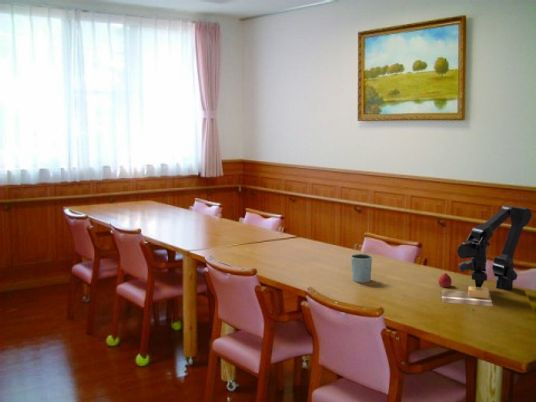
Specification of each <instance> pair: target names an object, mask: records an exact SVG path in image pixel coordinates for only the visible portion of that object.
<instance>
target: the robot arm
mask: <svg viewBox="0 0 536 402" xmlns="http://www.w3.org/2000/svg"><path fill="white" fill-rule="evenodd" d="M532 215H533V213H532V210H531V209H530V208H527V207H523V206H515V207H514V206H510V205H503V206H502V207H501V209H499V211H497V212H496V213H495V214H494V215H492V216H491V217H490V218H488V220H487V221H486V222H484V223H481V224H478V225H476V226H475V227H473V228H472V229H471V231H470V234H469V235H468V237H467V239H466V240H465V242H461V243H460V245H459V246H458V248H457V250H456V251H457V255H458V257H459V258H460V259H463V260H464V259H465V260H466V259H470V258H471V260H467V261H462V262H460V263H458V268H459V271H460V273H464V272H467V271H471V273H470V274H471V280H472V281H473V280H474V284H475V287H483V285H484V282H485V281H488V274H487V273H486V272H487V251H488V250H487V249H488V247H491V246H492V244H491V243H490V242H489V241H490V239H491V238H492V237H493V235H494V232H495V231H496V230H497V228H499V227H500V226H501V225H502V224H504V222H506V221H507V220H508V219H509V221H510V224H511V225H510V228H509V230H508V234H507V236H506V239H505V242H504V245H503V248H502V251H501V254H500V255H499V256H495V257H494V258H493V259H494V260H493V262H492V264H491V266H492V267H491V268H492V271H493V276H494V277H496V279H495V288H496V289H498V290H502V291H503V290H504V291H510V290H511V291H512V290H513V286H514V285H513V284H514V281H515V280H517V278H518V274H517V272H516V271H515V270H514V267H515V263H514V259H513V258H514V255H515V252H516V249H517V246H518V243H519V242H520V238H521V234H522V232H523V229H524V228H525V227H526V226H527V225H528V224H529V222H530V220H531V219H532V217H533V216H532Z"/></svg>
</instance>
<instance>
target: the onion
mask: <svg viewBox="0 0 536 402" xmlns="http://www.w3.org/2000/svg"><path fill="white" fill-rule="evenodd" d="M437 282H438V285H439V286H440V287H442V288H450V287H451V285H452V282H453V281H452V278H451V276H450V275H449V274H448V273H447V272H446V271H444V272H443V274H441V275H440V276H439V277H438V281H437Z"/></svg>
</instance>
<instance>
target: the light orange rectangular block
mask: <svg viewBox="0 0 536 402" xmlns="http://www.w3.org/2000/svg"><path fill="white" fill-rule="evenodd" d="M467 292H468V294H469V297H478V298H489V294H490V290H489V288H488V287H486V286H485V287H483V286H481V287H476V286H471V285H469V286H468V291H467Z"/></svg>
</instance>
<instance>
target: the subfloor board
mask: <svg viewBox="0 0 536 402" xmlns="http://www.w3.org/2000/svg"><path fill="white" fill-rule="evenodd" d="M441 291H442V292H441V303H448V304H449V303H450V304H461V305H462V304H463V305H473V306H483V307H485V306H486V307H493V302H492V297H491V293H489V298H478V297H469V294H468V291H463V290H462V291H460V290H450V289H449V290H448V289H447V290H446V289H442V290H441Z"/></svg>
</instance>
